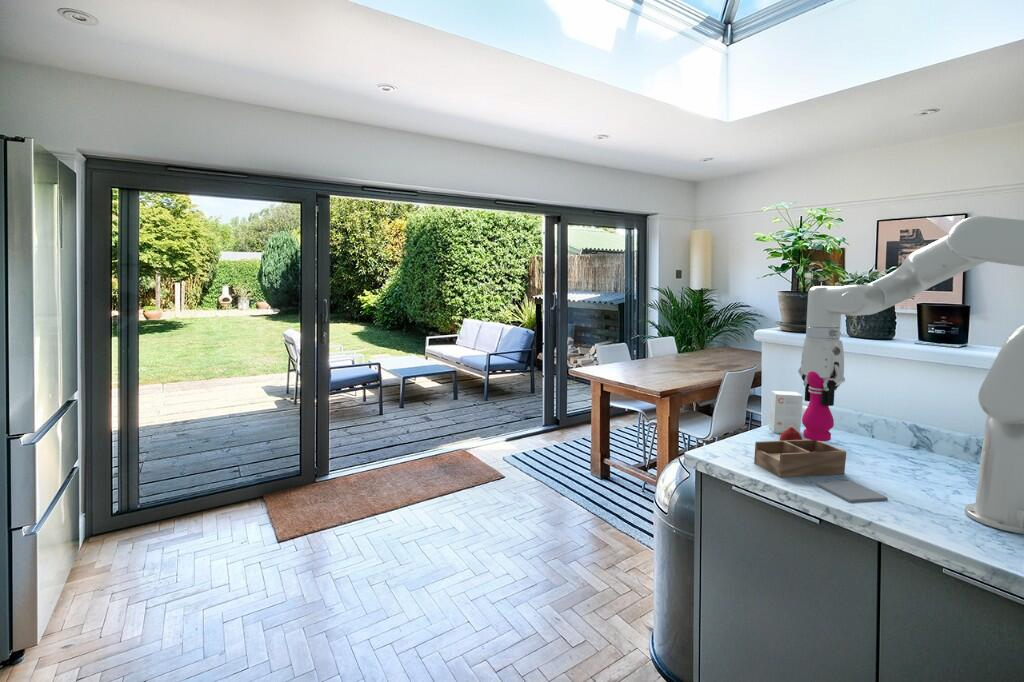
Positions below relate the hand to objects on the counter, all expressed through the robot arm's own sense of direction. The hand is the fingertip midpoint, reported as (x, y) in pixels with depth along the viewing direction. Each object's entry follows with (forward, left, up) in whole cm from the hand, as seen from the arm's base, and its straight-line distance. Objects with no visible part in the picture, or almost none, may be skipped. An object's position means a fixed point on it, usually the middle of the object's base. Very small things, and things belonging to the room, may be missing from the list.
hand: (818, 402), depth 136 cm
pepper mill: (0, 0, -10) cm, 10 cm away
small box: (+33, -17, -18) cm, 41 cm away
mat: (-15, +3, -18) cm, 24 cm away
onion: (+13, -3, -18) cm, 22 cm away
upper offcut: (0, +9, -16) cm, 19 cm away
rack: (+1, +4, -18) cm, 18 cm away
